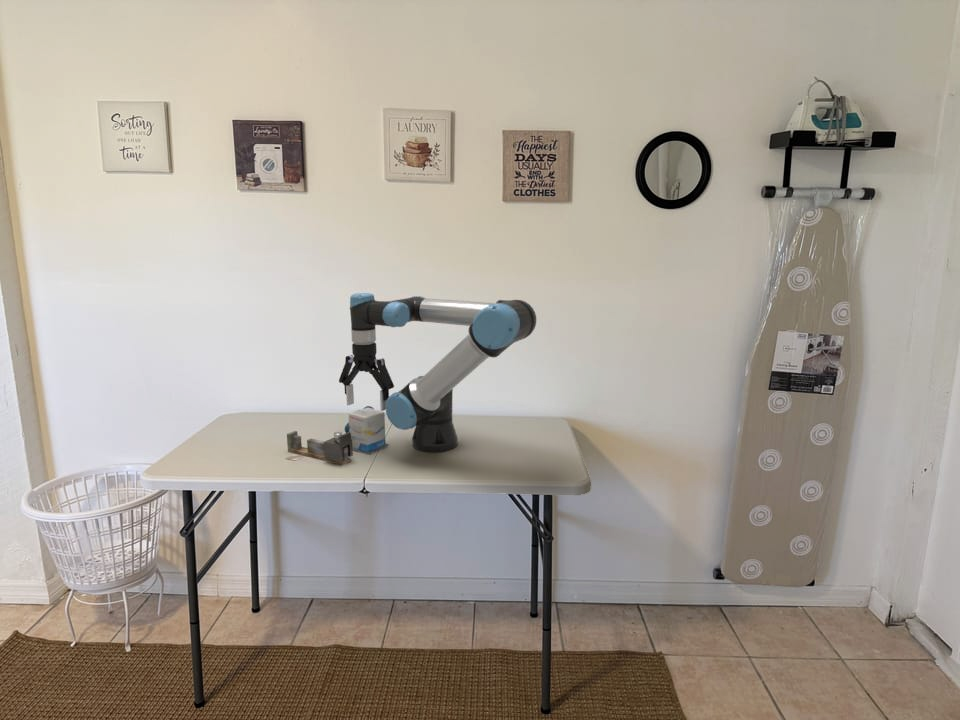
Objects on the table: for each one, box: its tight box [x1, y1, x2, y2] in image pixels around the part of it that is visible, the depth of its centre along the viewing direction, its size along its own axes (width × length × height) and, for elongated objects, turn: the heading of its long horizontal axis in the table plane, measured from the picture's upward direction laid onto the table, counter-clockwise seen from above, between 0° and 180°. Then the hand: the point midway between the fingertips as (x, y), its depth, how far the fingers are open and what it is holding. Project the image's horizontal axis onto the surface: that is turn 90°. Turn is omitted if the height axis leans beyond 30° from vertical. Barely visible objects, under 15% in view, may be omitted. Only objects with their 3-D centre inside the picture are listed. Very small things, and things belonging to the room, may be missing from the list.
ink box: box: [348, 407, 386, 452], centre depth 200 cm, size 9×8×12 cm
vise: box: [285, 430, 351, 466], centre depth 190 cm, size 22×8×6 cm, turn 62°
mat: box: [353, 442, 389, 455], centre depth 201 cm, size 10×10×1 cm
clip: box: [324, 431, 354, 462], centre depth 188 cm, size 6×6×8 cm
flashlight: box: [344, 405, 375, 433], centre depth 220 cm, size 5×22×5 cm, turn 173°
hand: (367, 407), depth 198 cm, fingers open, 13 cm apart
